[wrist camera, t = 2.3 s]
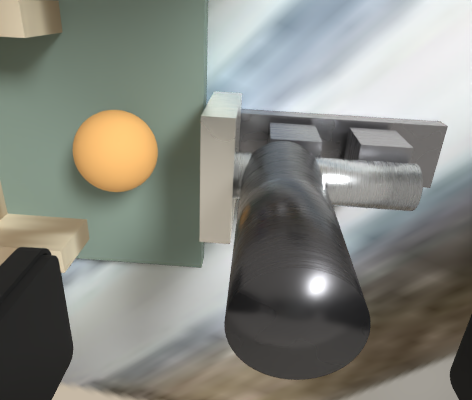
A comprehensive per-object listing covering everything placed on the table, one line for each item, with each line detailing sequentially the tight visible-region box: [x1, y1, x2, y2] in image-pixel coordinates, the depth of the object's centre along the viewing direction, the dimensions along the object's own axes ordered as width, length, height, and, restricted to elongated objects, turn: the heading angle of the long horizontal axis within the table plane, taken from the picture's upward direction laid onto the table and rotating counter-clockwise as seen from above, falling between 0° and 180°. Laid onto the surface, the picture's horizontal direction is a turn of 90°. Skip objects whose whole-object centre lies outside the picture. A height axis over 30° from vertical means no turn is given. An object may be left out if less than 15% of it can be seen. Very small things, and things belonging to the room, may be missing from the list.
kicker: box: [199, 91, 423, 380], centre depth 13 cm, size 8×5×11 cm, turn 87°
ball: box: [73, 110, 158, 192], centre depth 17 cm, size 4×4×4 cm
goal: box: [0, 0, 89, 273], centre depth 18 cm, size 5×11×3 cm, turn 177°
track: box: [239, 109, 448, 188], centre depth 19 cm, size 11×3×1 cm, turn 87°
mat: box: [0, 0, 208, 268], centre depth 19 cm, size 11×14×1 cm
